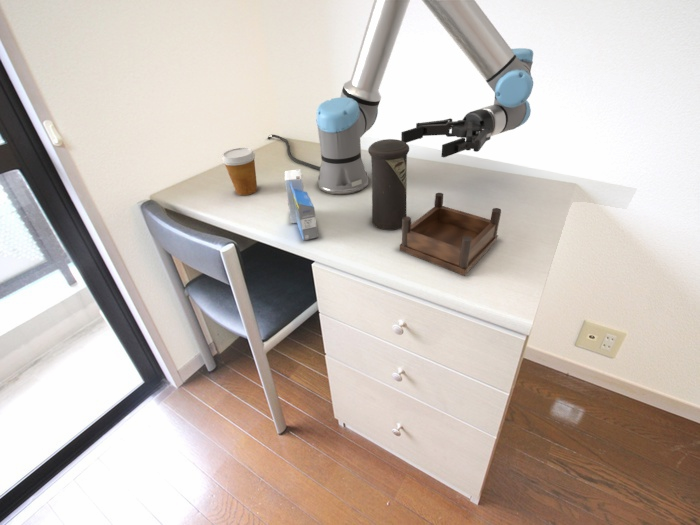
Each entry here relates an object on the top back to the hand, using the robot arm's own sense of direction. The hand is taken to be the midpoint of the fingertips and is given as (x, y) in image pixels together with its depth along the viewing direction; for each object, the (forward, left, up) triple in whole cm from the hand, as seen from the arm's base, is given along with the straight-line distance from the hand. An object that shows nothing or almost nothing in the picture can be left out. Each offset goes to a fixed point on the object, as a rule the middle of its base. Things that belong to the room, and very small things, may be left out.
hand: (421, 144), depth 86 cm
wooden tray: (+14, -10, -17) cm, 25 cm away
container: (-3, -9, -17) cm, 20 cm away
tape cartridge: (-17, -24, -17) cm, 34 cm away
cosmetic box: (-23, -21, -17) cm, 36 cm away
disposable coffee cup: (-50, -18, -17) cm, 56 cm away
